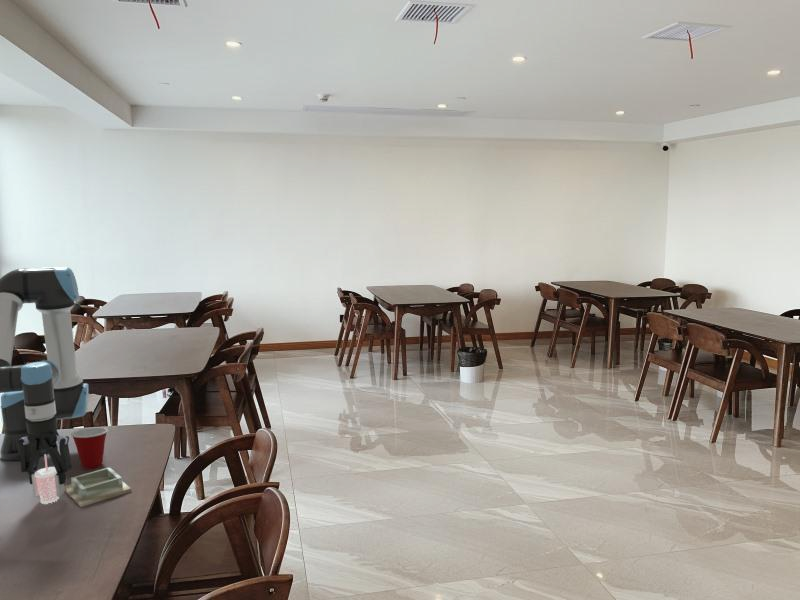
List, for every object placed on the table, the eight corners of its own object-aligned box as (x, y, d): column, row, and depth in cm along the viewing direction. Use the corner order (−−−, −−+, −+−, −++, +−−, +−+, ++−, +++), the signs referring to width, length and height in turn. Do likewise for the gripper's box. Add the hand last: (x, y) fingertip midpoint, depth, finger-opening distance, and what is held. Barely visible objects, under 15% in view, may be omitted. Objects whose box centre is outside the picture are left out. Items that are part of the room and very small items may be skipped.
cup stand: (64, 489, 185) (62, 476, 184) (112, 475, 194) (111, 463, 194) (80, 507, 173) (79, 493, 172) (131, 491, 182) (130, 478, 182)
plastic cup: (117, 459, 207) (114, 425, 205) (98, 472, 196) (95, 436, 195) (87, 458, 208) (84, 424, 206) (67, 472, 197) (63, 436, 196)
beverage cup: (38, 507, 173) (33, 460, 171) (37, 499, 179) (32, 453, 177) (63, 501, 177) (58, 455, 175) (61, 493, 182) (56, 448, 180)
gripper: (-1, 421, 171) (8, 500, 174) (66, 421, 170) (74, 500, 173) (17, 413, 178) (25, 488, 181) (81, 412, 177) (88, 488, 181)
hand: (49, 494), depth 177 cm, fingers closed on beverage cup, 6 cm apart
